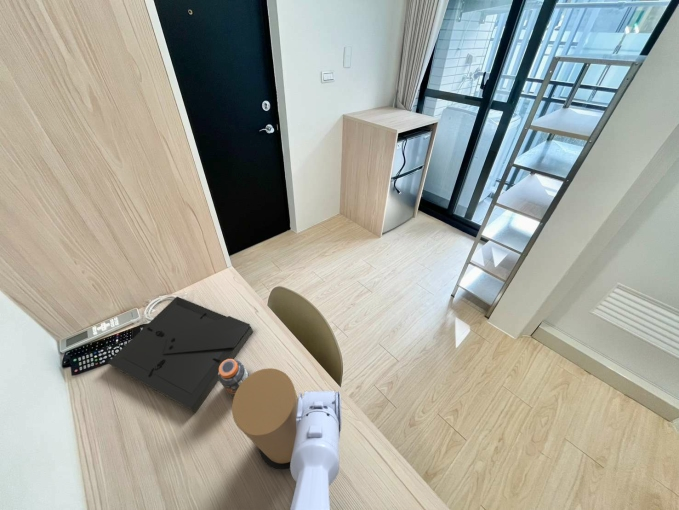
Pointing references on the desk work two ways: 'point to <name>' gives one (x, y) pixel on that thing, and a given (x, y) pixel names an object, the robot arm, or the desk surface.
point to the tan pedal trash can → (268, 412)
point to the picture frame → (183, 351)
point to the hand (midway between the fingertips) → (325, 445)
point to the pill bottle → (232, 375)
